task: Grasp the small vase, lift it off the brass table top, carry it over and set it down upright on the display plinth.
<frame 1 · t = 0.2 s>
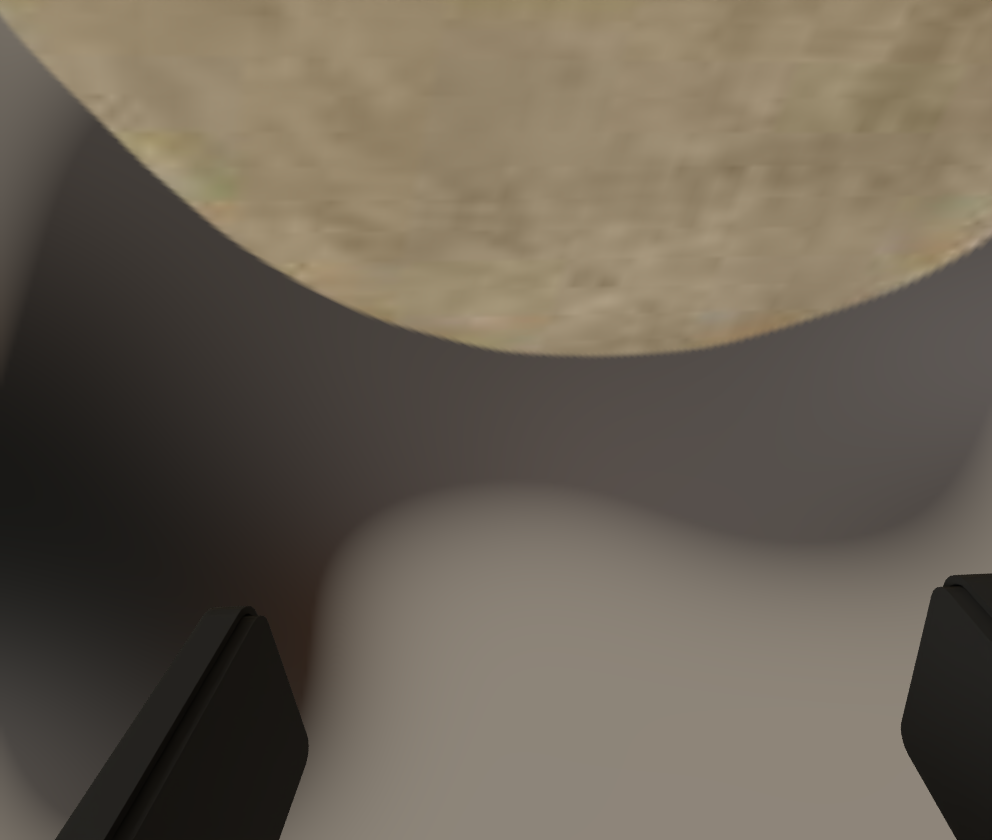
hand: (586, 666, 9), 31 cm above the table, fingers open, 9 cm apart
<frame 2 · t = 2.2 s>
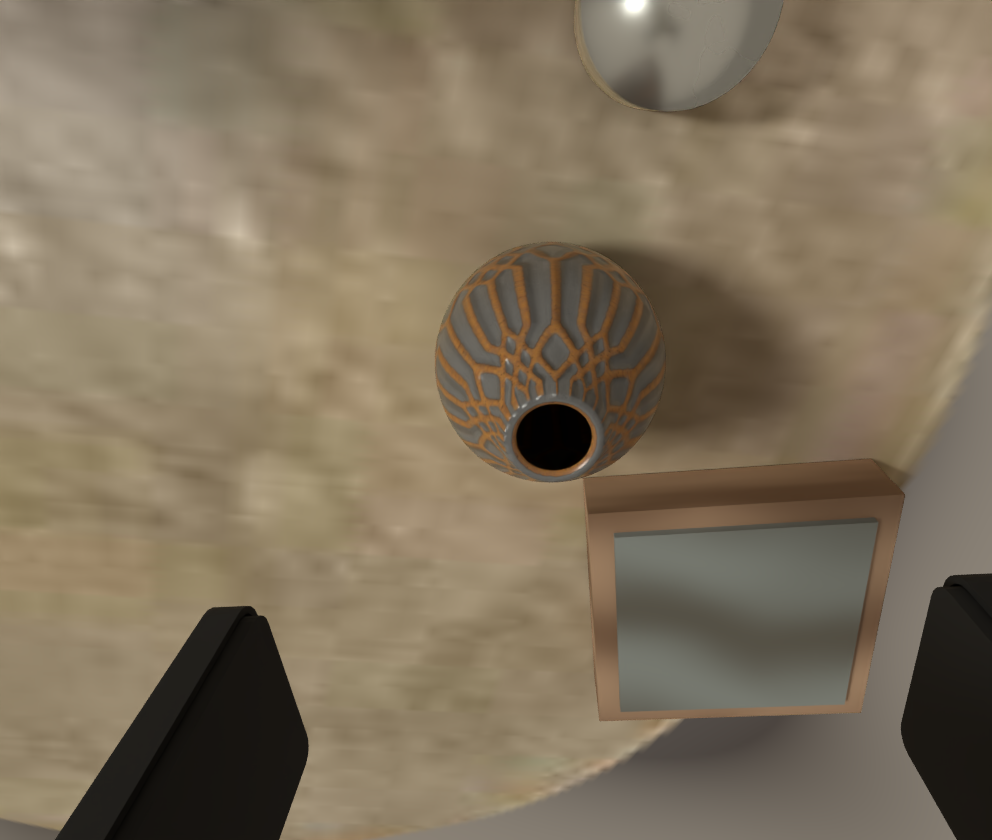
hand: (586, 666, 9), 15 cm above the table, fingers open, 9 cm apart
plinth: (718, 578, 27), on the table
vase: (545, 322, 23), on the table
tin: (659, 14, 19), on the table
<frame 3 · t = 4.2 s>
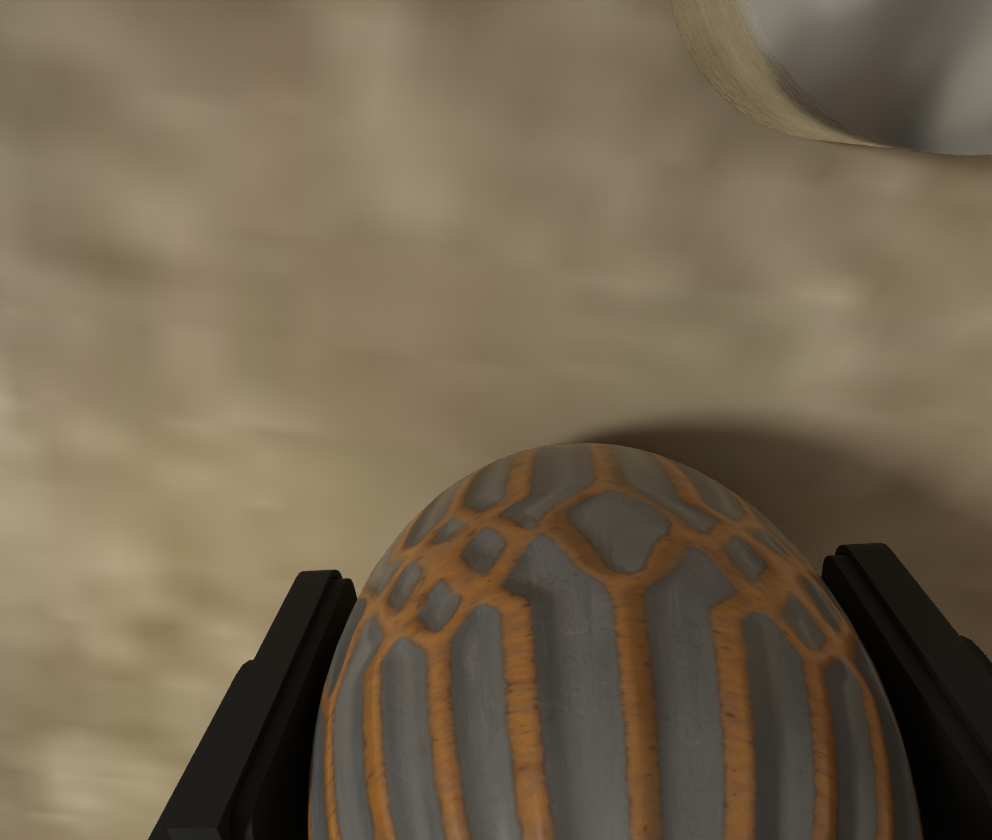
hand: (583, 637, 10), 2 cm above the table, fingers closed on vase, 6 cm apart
vase: (575, 548, 12), on the table, touching gripper
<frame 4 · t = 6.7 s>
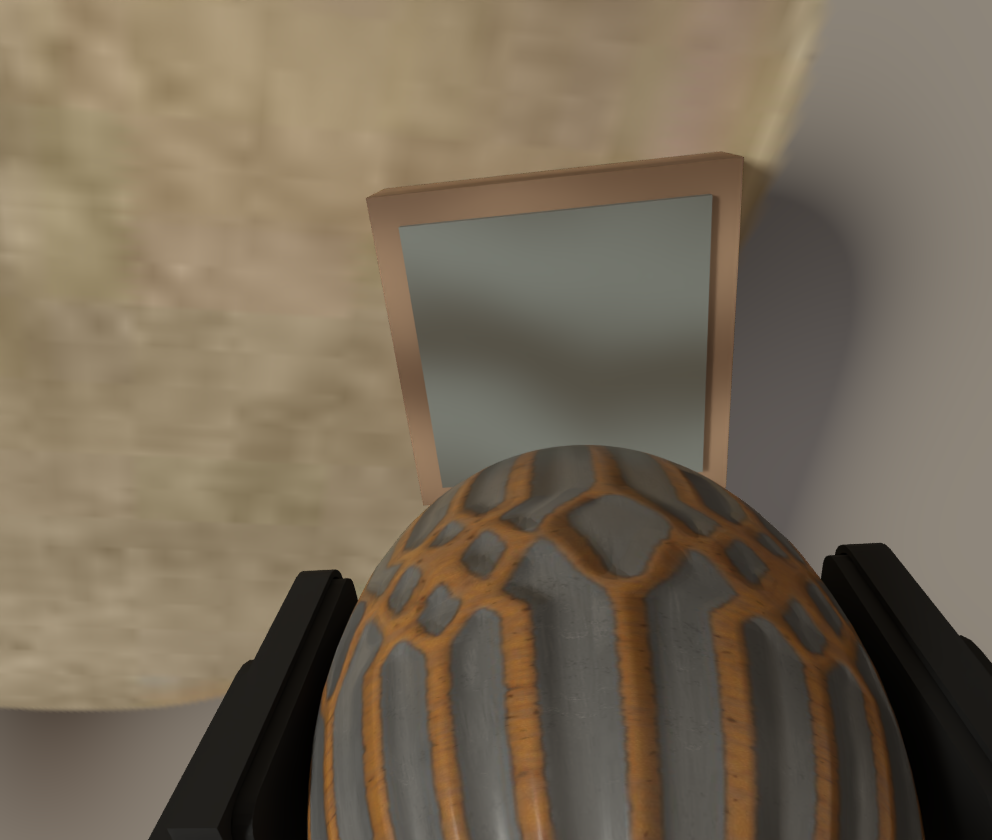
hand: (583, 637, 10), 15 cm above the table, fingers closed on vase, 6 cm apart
plinth: (559, 331, 23), on the table
vase: (576, 550, 12), point 13 cm above the table, touching gripper
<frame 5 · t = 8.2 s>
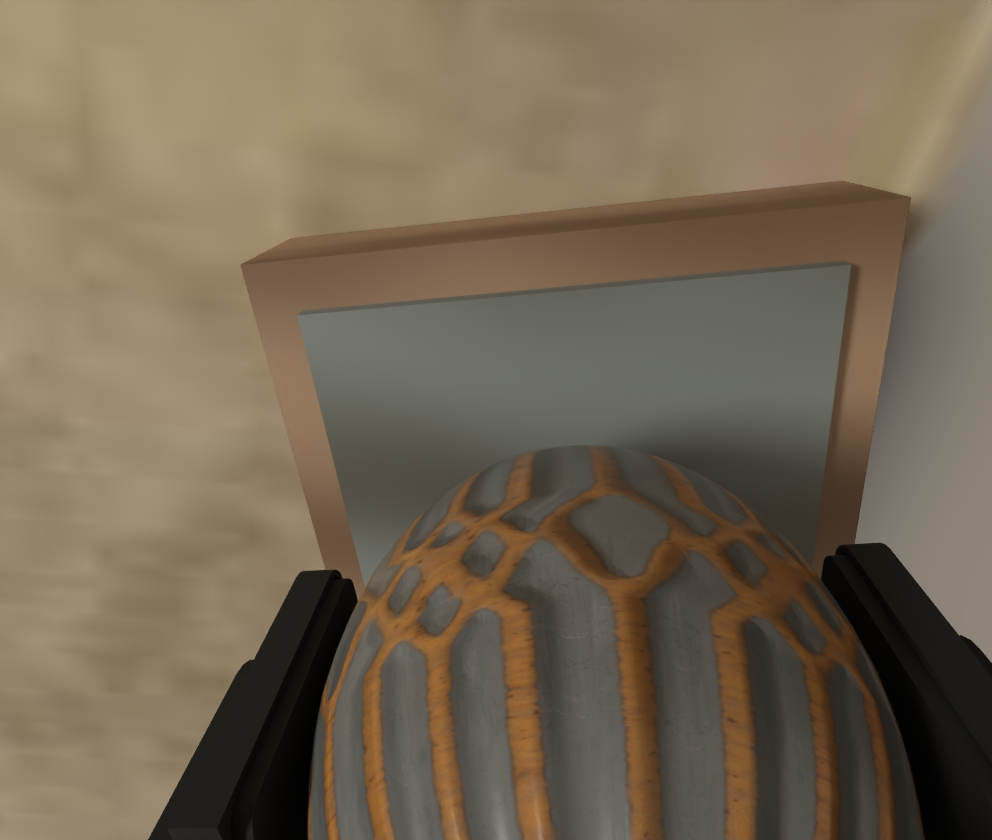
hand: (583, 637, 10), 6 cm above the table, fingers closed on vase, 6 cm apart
plinth: (570, 451, 15), on the table
vase: (576, 550, 12), point 4 cm above the table, touching gripper
when the fingers open (6 cm above the table, at t = 9.2 s): vase stays where it is, resting on plinth.
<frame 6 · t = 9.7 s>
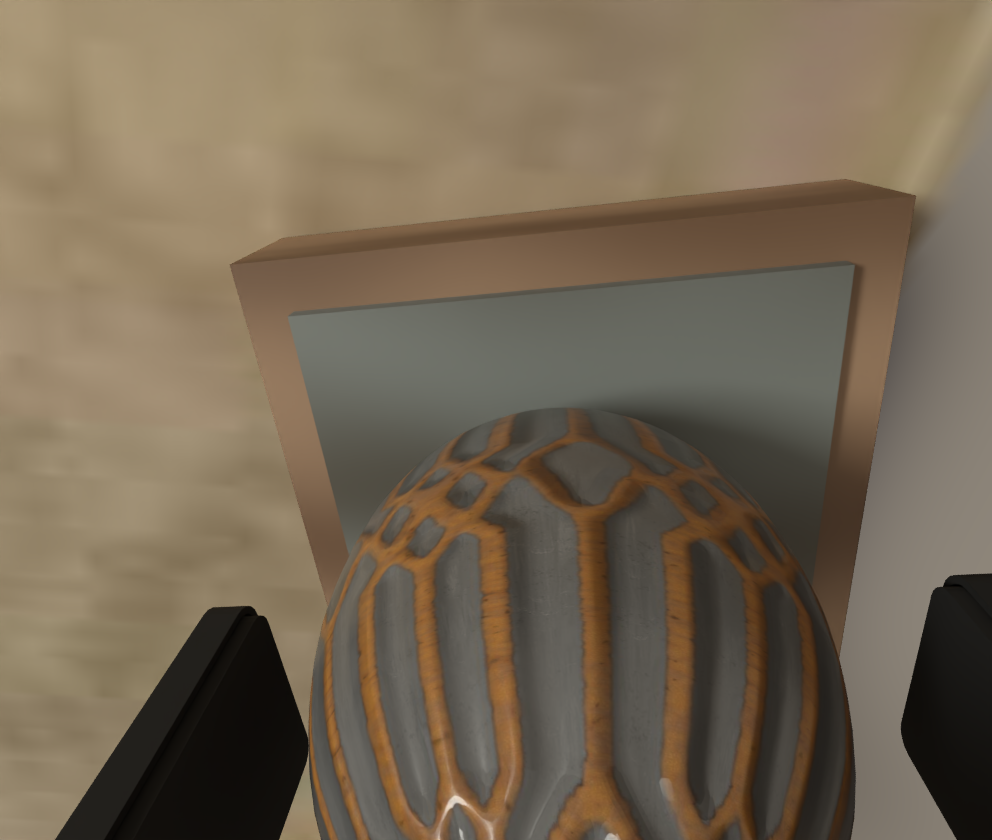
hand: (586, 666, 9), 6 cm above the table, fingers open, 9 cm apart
plinth: (568, 454, 15), on the table
vase: (559, 513, 13), point 3 cm above the table, touching plinth
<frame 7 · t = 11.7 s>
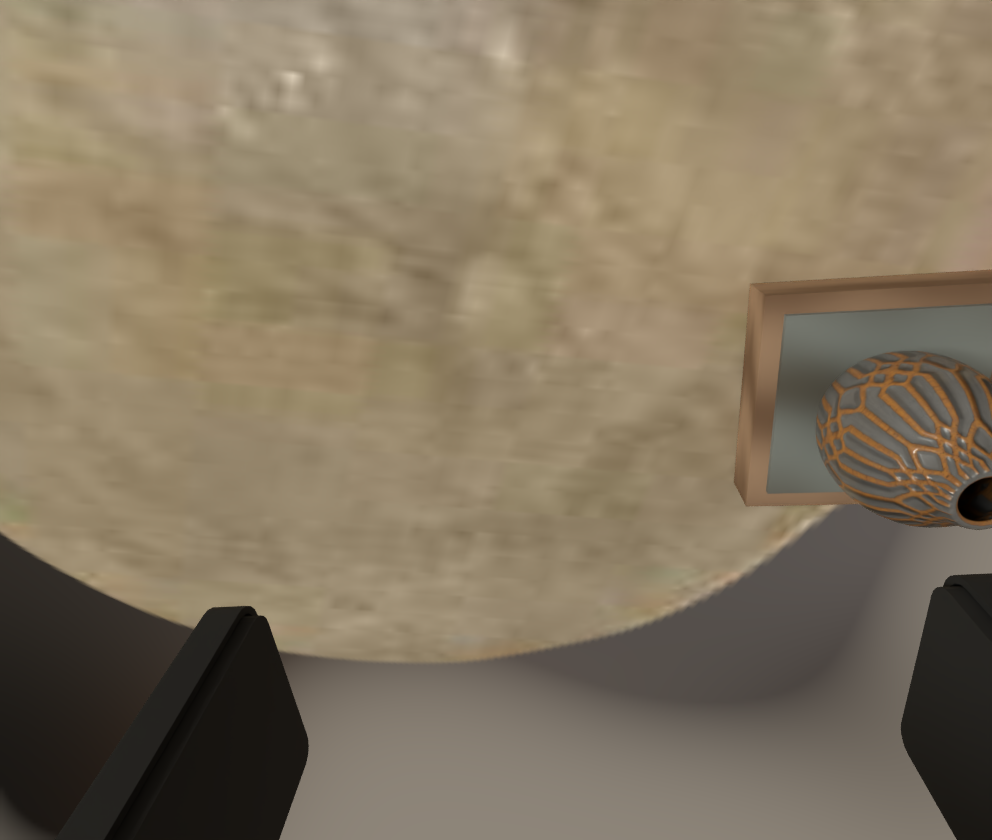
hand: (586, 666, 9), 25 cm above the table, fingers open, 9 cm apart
plinth: (853, 385, 33), on the table
vase: (870, 402, 30), point 3 cm above the table, touching plinth
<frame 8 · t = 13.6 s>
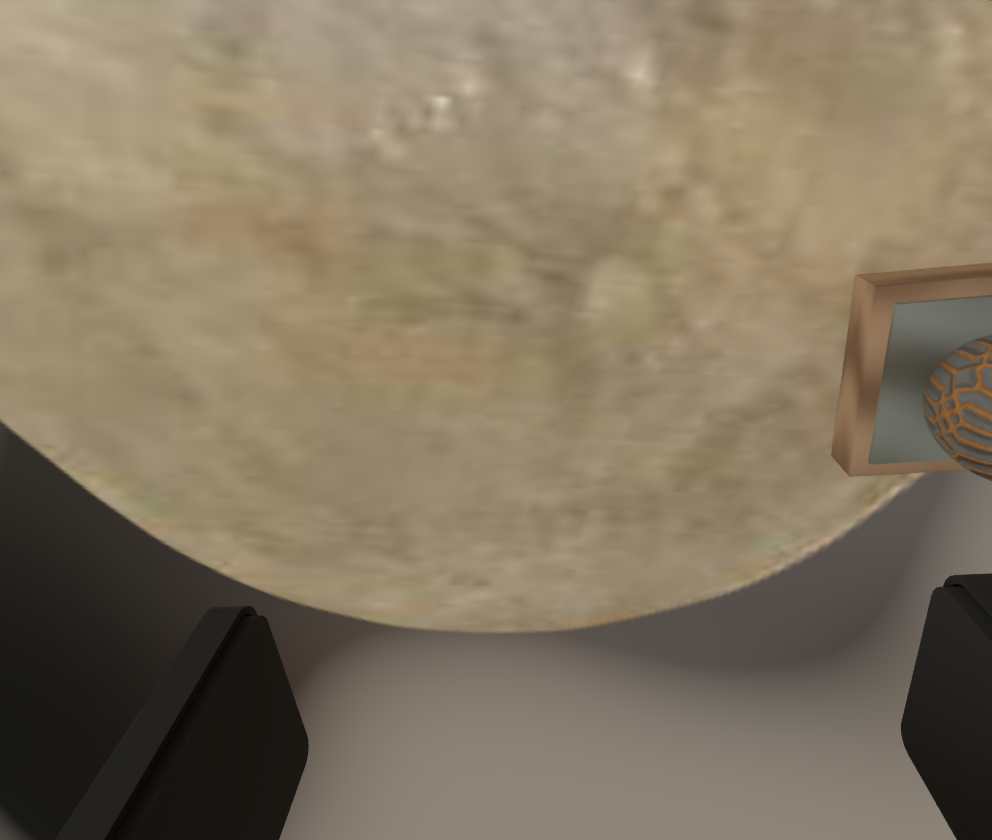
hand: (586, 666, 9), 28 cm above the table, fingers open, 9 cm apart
plinth: (945, 363, 36), on the table
vase: (968, 378, 34), point 3 cm above the table, touching plinth
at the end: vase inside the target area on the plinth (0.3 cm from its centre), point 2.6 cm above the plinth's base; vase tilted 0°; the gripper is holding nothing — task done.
